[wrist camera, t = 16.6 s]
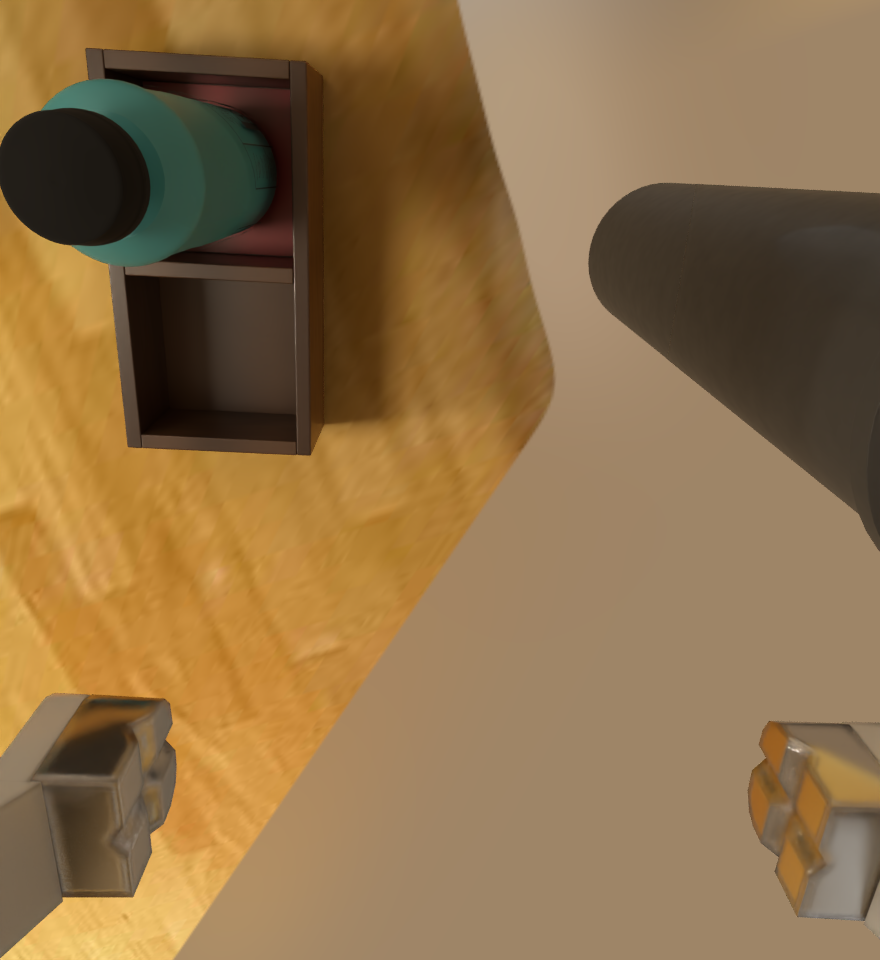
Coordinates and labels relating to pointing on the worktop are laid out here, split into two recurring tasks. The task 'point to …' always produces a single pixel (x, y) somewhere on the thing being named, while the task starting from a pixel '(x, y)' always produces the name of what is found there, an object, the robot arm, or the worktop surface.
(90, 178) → the beverage bottle
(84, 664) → the worktop surface
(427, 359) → the worktop surface
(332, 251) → the worktop surface
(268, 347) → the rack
